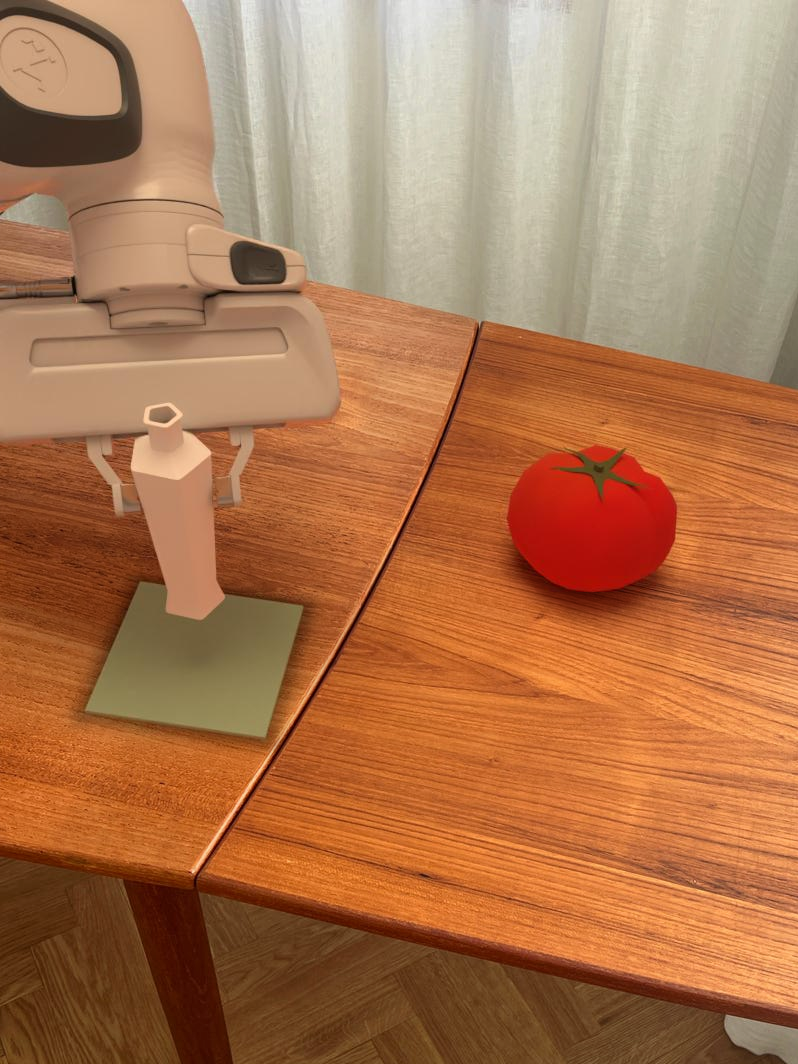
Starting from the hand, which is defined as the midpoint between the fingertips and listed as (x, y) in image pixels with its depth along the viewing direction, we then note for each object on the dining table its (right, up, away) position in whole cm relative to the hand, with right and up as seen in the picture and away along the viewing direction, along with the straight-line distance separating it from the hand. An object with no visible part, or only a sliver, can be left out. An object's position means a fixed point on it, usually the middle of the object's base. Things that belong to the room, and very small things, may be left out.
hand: (180, 511), depth 68 cm
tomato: (+26, -2, +22) cm, 34 cm away
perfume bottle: (-1, -5, +7) cm, 9 cm away
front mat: (-2, -9, +11) cm, 15 cm away
